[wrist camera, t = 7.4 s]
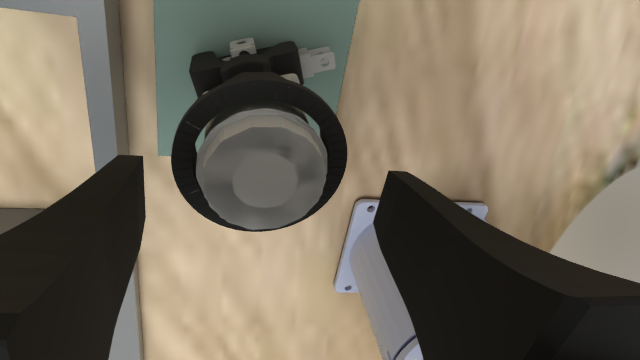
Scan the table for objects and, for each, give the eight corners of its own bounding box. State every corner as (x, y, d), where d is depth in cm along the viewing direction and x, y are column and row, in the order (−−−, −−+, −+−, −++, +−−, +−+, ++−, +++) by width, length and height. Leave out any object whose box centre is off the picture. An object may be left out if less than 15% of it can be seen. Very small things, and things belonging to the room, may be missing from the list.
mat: (366, -53, 19) (369, -52, 18) (323, 160, 24) (325, 164, 24) (152, -94, 17) (150, -94, 16) (159, 150, 22) (158, 155, 22)
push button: (320, -6, 19) (395, 63, 11) (335, 102, 22) (402, 219, 14) (174, 23, 19) (136, 119, 10) (209, 129, 22) (201, 268, 13)
